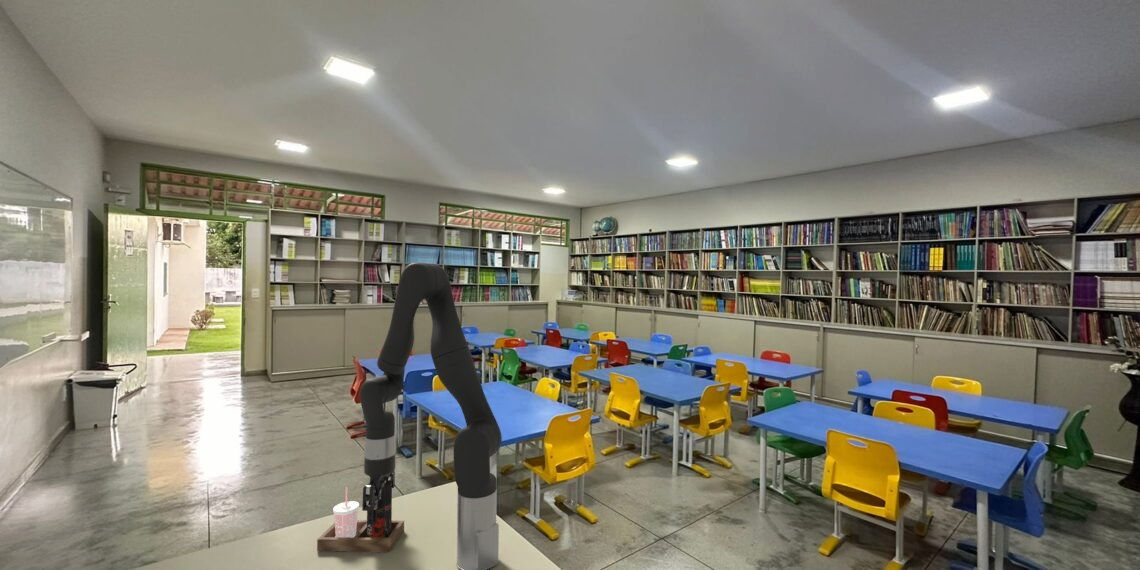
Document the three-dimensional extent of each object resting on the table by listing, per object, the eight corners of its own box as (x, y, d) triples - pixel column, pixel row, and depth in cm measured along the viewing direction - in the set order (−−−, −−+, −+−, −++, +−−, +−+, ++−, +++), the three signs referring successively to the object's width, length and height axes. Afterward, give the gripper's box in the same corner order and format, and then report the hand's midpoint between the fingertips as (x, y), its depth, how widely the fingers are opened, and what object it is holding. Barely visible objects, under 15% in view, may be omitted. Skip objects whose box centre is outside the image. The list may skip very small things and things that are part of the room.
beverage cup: (362, 534, 121) (362, 481, 121) (353, 547, 115) (354, 491, 115) (338, 535, 120) (338, 482, 120) (328, 548, 114) (329, 492, 114)
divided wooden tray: (404, 531, 122) (404, 520, 122) (389, 552, 112) (389, 539, 112) (337, 531, 122) (337, 520, 122) (317, 551, 112) (317, 539, 113)
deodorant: (395, 536, 119) (396, 479, 120) (382, 549, 114) (383, 489, 114) (375, 534, 121) (376, 478, 121) (361, 546, 115) (362, 487, 115)
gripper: (383, 463, 111) (382, 530, 110) (404, 444, 125) (403, 503, 124) (352, 463, 111) (351, 530, 110) (377, 444, 125) (376, 503, 124)
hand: (379, 515), depth 117 cm, fingers open, 8 cm apart
